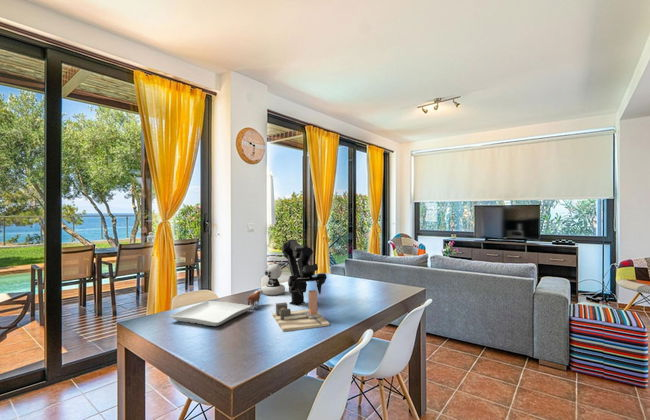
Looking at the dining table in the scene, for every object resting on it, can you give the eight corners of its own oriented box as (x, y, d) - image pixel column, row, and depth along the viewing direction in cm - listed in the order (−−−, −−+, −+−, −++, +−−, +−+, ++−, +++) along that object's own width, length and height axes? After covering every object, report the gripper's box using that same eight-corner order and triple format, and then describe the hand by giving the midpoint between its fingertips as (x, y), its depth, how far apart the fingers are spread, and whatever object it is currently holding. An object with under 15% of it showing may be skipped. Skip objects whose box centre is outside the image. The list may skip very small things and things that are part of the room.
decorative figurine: (256, 293, 204) (255, 261, 204) (272, 289, 216) (272, 258, 216) (273, 297, 195) (273, 263, 195) (290, 292, 207) (289, 260, 207)
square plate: (168, 323, 152) (168, 315, 152) (208, 307, 178) (208, 299, 178) (217, 330, 143) (217, 321, 143) (252, 312, 168) (252, 304, 168)
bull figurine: (265, 303, 183) (264, 288, 183) (251, 310, 170) (251, 294, 170) (258, 302, 184) (257, 287, 184) (244, 309, 172) (244, 293, 172)
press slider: (279, 317, 154) (279, 292, 154) (316, 313, 160) (316, 289, 160) (282, 321, 148) (282, 295, 148) (321, 317, 154) (320, 291, 154)
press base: (272, 315, 161) (272, 303, 161) (313, 310, 168) (313, 299, 168) (283, 331, 140) (282, 317, 140) (329, 325, 147) (329, 311, 147)
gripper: (289, 259, 160) (295, 287, 150) (325, 257, 167) (333, 283, 157) (285, 272, 168) (291, 300, 158) (320, 270, 174) (327, 296, 164)
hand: (311, 294), depth 159 cm, fingers open, 9 cm apart
